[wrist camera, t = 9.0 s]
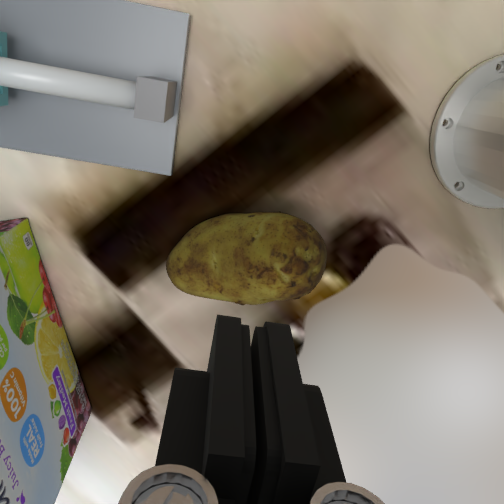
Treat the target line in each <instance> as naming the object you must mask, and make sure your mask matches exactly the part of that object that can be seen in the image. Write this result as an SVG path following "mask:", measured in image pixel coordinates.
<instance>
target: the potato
mask: <svg viewBox="0 0 504 504" xmlns="http://www.w3.org/2000/svg"><path fill="white" fill-rule="evenodd" d="M326 259H327V251H326V246H325V243H324V241H323V239H322V237H321V236H320V235H319V233H318V232H317V231H316V230H315V229H314V228H313V227H312V226H311V225H310V224H308V223H306V222H305V221H303V220H301V219H299V218H297V217H295V216H292V215H289V214H285V213H281V212H255V213H247V214H242V213H230V214H225V215H221V216H218V217H214V218H211V219H209V220H206V221H204V222H202V223H200V224H198V225H196V226H195V227H193V228H192V229H191V230H189V231H188V232H187V233H186V234H185V235H184V237H183V238H182V239H181V240H180V241H179V242H178V244H177V245H176V246H175V247H174V248H173V249H172V251H171V252H170V254H169V256H168V258H167V262H166V270H167V273H168V276H169V278H170V279H171V281H172V283H173V284H174V285H175V286H176V287H177V288H178V289H180V290H181V291H183V292H185V293H188V294H191V295H194V296H199V297H204V298H210V299H216V300H223V301H229V302H235V303H236V304H240V305H245V304H250V305H256V304H263V303H267V302H271V301H275V300H292V299H299V298H300V297H302V296H304V295H306V294H309V293H310V292H311V291H312V290H313V289H314V288H315V287H316V285H317V284H318V283H319V281H320V280H321V278H322V275H323V273H324V270H325V266H326Z"/></svg>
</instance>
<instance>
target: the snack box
mask: <svg viewBox="0 0 504 504" xmlns="http://www.w3.org/2000/svg"><path fill="white" fill-rule="evenodd" d="M91 411H92V408H91V405H90V402H89V400H88V397H87V394H86V391H85V388H84V385H83V383H82V380H81V377H80V374H79V371H78V368H77V365H76V362H75V359H74V356H73V353H72V351H71V348H70V345H69V342H68V339H67V336H66V333H65V330H64V327H63V324H62V321H61V318H60V315H59V312H58V309H57V306H56V303H55V300H54V297H53V294H52V291H51V289H50V286H49V283H48V280H47V277H46V274H45V271H44V268H43V265H42V262H41V259H40V256H39V253H38V250H37V247H36V244H35V241H34V238H33V235H32V232H31V229H30V226H29V222H28V218H21V219H14V220H8V221H1V222H0V504H54V503H55V501H56V498H57V496H58V493H59V491H60V488H61V485H62V483H63V480H64V478H65V475H66V473H67V470H68V468H69V465H70V463H71V461H72V458H73V455H74V453H75V451H76V448H77V445H78V443H79V440H80V438H81V436H82V433H83V431H84V429H85V426H86V424H87V421H88V419H89V416H90V413H91Z"/></svg>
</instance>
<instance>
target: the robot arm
mask: <svg viewBox="0 0 504 504" xmlns="http://www.w3.org/2000/svg"><path fill="white" fill-rule="evenodd" d="M497 65H498V68H497V70H496V66H497ZM444 119H445V121H446V123H445V124H444V125H443V121H444ZM430 155H431V160H432V165H433V168H434V170H435V172H436V175H437V177H438V179H439V180H440V182H441V183H442V184H443V186H444V187H445V188H446V189H447V190H448V191H449V192H450V193H451V194H452V195H454V196H455V197H457V198H459V199H460V200H462V201H464V202H466V203H468V204H471V205H473V206H476V207H482V208H488V209H495V208H504V54H503V55H498V56H496V57H493V58H491V59H488V60H486V61H484V62H482V63H480V64H479V65H477V66H476V67H474V68H473V69H471V70H470V71H468V72H467V73H466V74H465V75H464V76H463V77H462V78H461V79H459V80H458V81H457V82H456V83H455V85H454V86H453V87H452V89H451V90H450V91H449V92H448V94H447V95H446V96H445V98H444V100H443V102H442V104H441V105H440V107H439V109H438V111H437V114H436V117H435V120H434V122H433V126H432V132H431V137H430ZM456 182H457V184H456V186H454V185H455V183H456ZM118 504H384V503H383V502H382V501H381V500H380V499H379V498H378V497H377V496H376V495H374V494H373V493H371V492H370V491H368V490H366V489H365V488H363V487H360V486H357V485H354V484H352V483H346V479H345V476H344V472H343V469H342V465H341V461H340V458H339V454H338V451H337V447H336V443H335V440H334V436H333V432H332V429H331V425H330V422H329V418H328V414H327V411H326V407H325V404H324V400H323V396H322V393H321V390H320V388H319V387H318V386H315V385H307V384H303V383H302V379H301V374H300V370H299V365H298V361H297V356H296V352H295V347H294V343H293V338H292V334H291V329H290V326H289V325H287V324H279V323H272V322H265V324H264V326H263V327H255V330H254V334H253V339H252V344H251V346H250V330H249V325H242V324H241V318H237V317H230V316H223V315H217V318H216V324H215V329H214V335H213V341H212V346H211V352H210V358H209V363H208V369H207V372H205V371H197V370H190V369H182V368H175V371H174V375H173V380H172V385H171V390H170V395H169V400H168V405H167V410H166V415H165V420H164V425H163V429H162V434H161V439H160V444H159V449H158V454H157V459H156V464H155V466H154V467H152V468H150V469H147V470H145V471H143V472H141V473H140V474H139V475H138V476H136V477H135V478H134V479H133V480H132V481H131V482H130V483H129V485H128V486H127V488H126V489H125V491H124V492H123V494H122V496H121V499H120V501H119V503H118Z"/></svg>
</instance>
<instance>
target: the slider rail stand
mask: <svg viewBox="0 0 504 504" xmlns="http://www.w3.org/2000/svg"><path fill="white" fill-rule="evenodd" d="M189 25H190V14H188V13H183V12H178V11H173V10H168V9H163V8H159V7H154V6H149V5H144V4H139V3H134V2H129V1H125V0H0V31H1V32H6V33H7V58H5V57H0V86H5V87H8V105H6V106H0V147H2V148H8V149H14V150H20V151H26V152H32V153H38V154H44V155H50V156H56V157H62V158H68V159H74V160H80V161H86V162H92V163H98V164H104V165H110V166H116V167H122V168H128V169H134V170H140V171H146V172H152V173H158V174H164V175H170V176H171V174H172V173H173V164H174V156H175V147H176V138H177V130H178V121H179V112H180V103H181V95H182V86H183V77H184V68H185V60H186V51H187V42H188V33H189Z"/></svg>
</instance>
